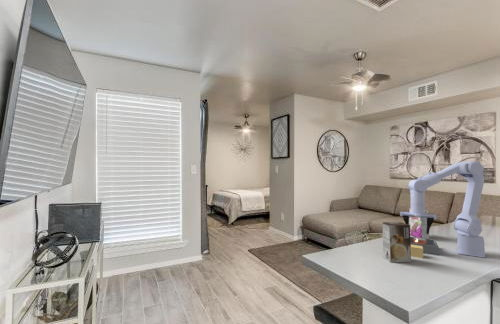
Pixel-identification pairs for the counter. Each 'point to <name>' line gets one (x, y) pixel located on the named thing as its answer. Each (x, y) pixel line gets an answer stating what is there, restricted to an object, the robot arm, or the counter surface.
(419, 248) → the tan block
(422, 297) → the counter surface
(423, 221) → the candy bar box
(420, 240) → the bean tin
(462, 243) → the robot arm
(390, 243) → the coffee box
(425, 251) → the tote
